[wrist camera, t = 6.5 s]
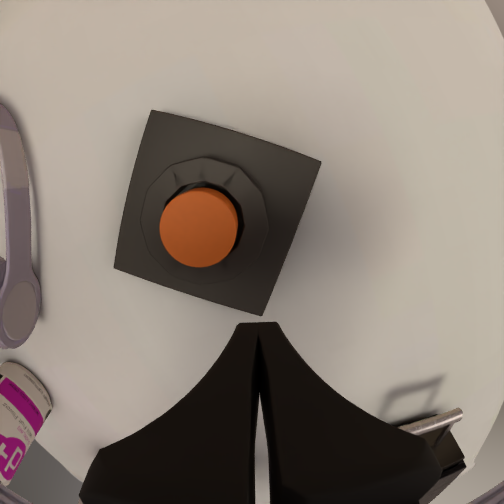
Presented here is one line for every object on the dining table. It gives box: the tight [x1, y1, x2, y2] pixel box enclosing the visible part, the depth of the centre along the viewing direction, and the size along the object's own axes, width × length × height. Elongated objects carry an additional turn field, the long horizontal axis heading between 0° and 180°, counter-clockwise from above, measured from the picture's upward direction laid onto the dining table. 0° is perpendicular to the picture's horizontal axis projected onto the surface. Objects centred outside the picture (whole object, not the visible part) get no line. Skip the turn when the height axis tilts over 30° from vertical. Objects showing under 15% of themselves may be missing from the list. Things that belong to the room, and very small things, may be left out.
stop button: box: [159, 187, 238, 267], centre depth 14 cm, size 4×4×2 cm
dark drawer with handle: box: [397, 408, 465, 472], centre depth 21 cm, size 19×11×7 cm, turn 1°
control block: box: [114, 110, 321, 316], centre depth 16 cm, size 10×10×4 cm
